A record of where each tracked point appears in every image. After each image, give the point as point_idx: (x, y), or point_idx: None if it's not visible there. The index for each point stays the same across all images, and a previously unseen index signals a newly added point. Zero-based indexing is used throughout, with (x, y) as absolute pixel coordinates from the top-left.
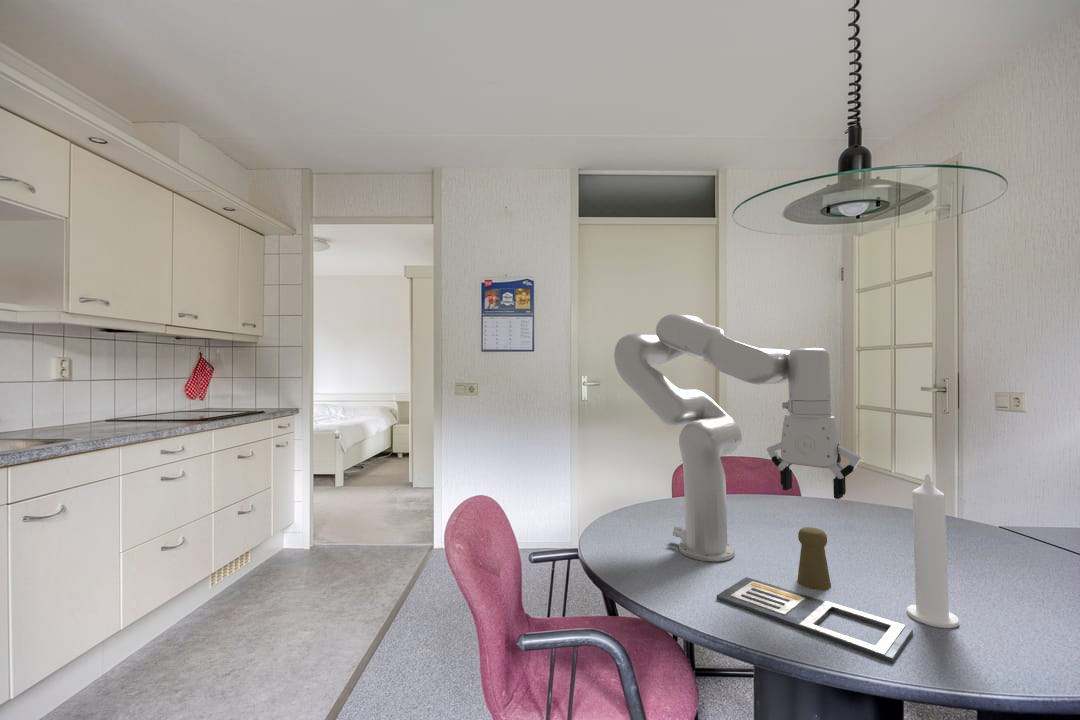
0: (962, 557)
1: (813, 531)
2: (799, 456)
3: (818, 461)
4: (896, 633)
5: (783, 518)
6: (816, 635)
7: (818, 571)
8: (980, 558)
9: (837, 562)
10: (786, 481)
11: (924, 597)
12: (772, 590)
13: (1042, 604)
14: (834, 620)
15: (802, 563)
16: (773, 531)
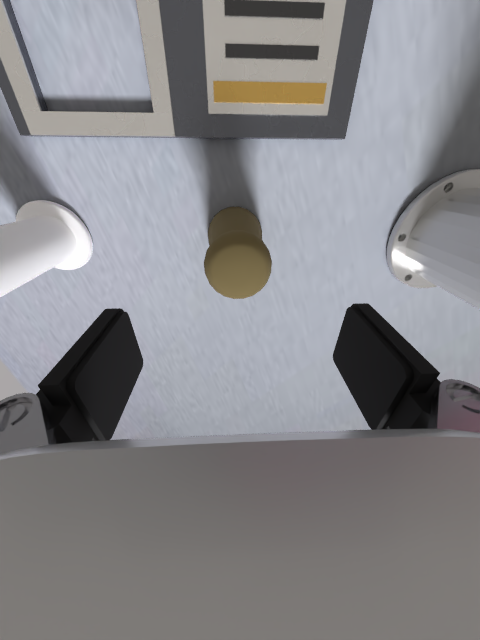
0: (148, 431)
1: (229, 258)
2: (395, 595)
3: (47, 535)
4: (7, 65)
5: (341, 428)
6: None
7: (218, 223)
8: (137, 437)
9: (239, 341)
10: (369, 335)
11: (25, 222)
12: (274, 87)
13: (34, 370)
14: (132, 65)
15: (250, 223)
16: (344, 386)
